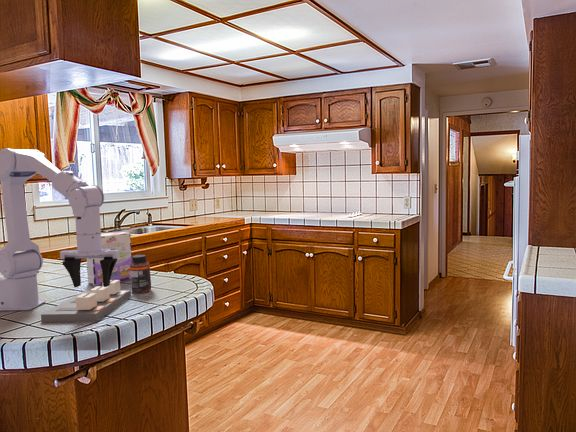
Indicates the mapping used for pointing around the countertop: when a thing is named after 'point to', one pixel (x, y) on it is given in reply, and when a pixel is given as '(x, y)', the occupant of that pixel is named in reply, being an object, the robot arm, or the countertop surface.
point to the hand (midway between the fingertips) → (92, 286)
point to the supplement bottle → (140, 274)
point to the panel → (70, 314)
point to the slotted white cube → (86, 301)
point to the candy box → (122, 265)
